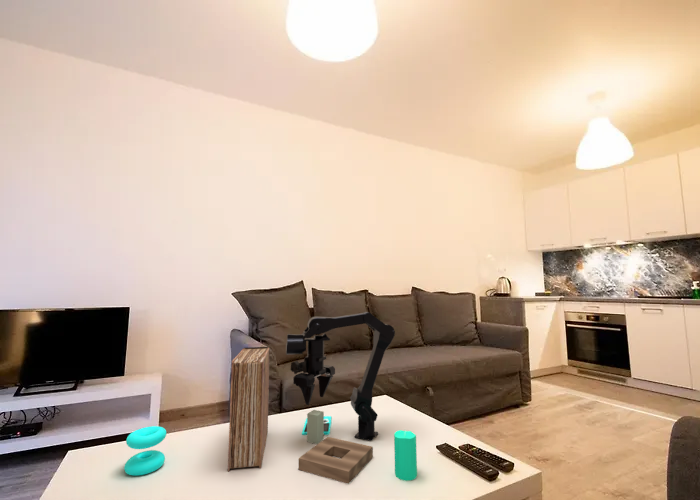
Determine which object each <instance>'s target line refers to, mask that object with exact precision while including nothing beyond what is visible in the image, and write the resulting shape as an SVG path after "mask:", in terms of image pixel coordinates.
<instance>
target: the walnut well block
mask: <svg viewBox="0 0 700 500" xmlns="http://www.w3.org/2000/svg"><path fill="white" fill-rule="evenodd" d="M373 450H374V447H373V446H372V445H366V444H362V443H357V442H353V441H349V440H348V441H347V440H344V439H341V438H335V437H331V436H326V437H325V438H324V439H323V440H322V441H321V442H319V443H318V444H315V445H314V446H313V447H312V448H310V449H309V450H308V451H306V452H305V453H303V454H302V455H301V456H300V457H298V470H299V471H303V472H305V473H310V474H313V475H316V476H320V477H324V478H325V479H326V478H327V479H330V480H334V481H337V482H340V483H345V484H348V485H349V484H350V483H351V482H352V481H353V480H354V479H355V478H356V477H357V475H358V474H359V473H360V472H361V471H362V470H363V469H364V468H365V467H366V466H367V464H368V463H369V462H370V461H371V460H372V459H373V457H374V451H373Z"/></svg>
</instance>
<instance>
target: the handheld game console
mask: <svg viewBox="0 0 700 500" xmlns="http://www.w3.org/2000/svg"><path fill="white" fill-rule="evenodd" d="M331 424H332V416H331V415H325V416H324V436H328V435H330V433H331ZM301 435H302V436H307V417H306V418H305V422H304V425H303V428H302V431H301Z"/></svg>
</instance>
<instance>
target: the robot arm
mask: <svg viewBox="0 0 700 500" xmlns="http://www.w3.org/2000/svg"><path fill="white" fill-rule="evenodd" d="M364 324H366V326H368V327H369V329H371V330H372V331H374V333H373V341H372V343H373V345H372V348H371V349H372V350H371V353H370V356H369V359H368V361H367V365H366V368H365V370H364V373H363V377H362V379H361V381H360V385H359V386H358V387H355V386H354V387H353V389H352V393H351V396H350V397H349V399H350V405H351V407H352V409H353V411H354V412H355V414H357V416H358V417H357V419H358V420H357V427H358V429H357V431H358V432H357V433H356V434H355V435H354V438H357V439H361V440H366V441H373V440H374V439H375V438H376V437H377V436H378V435H379V432H378V431H375V428H376V427H375V422H376V421H377V418H378V413H377V412H376V411H375V410H374V409H373V407H372V405H373V389H374V386H375V383H376V380H377V377H378V373H379V370H380V367H381V364H382V362H383V359H384V355H385V352H386V350H387V349H388V347H389V346H390V345H391V343H392V342H393V340H394V337H395V335H396V330H395V329H394V327H393V326H392V325H391V324H387V323H385V322H383V321H381V319H379V318H378V317H376V316H375V315H374V314H372V313H371V312H369V311H363V312H361V313H353V314H346V315H340V316H334V317H333V316H331V317H330V316H312V317H311V318H309V320H308V321H307V327H306V328H305V329H304V330H303V332H302V333H301V334H294V333H293V334H292V333H287V335H286V343H285V355H304V354H303V353H305V352H306V351H307V354H306V356H305V357H304V359H303V361H302V362H298V360H296V361H291V364H290V369H289V370H290V371H291V372H292V373H293V374H294V376H293V378H292V379H293V380H292V384H293V385H295V386H296V387H299V388H300V390H301V393H302V397H303V400H304V403H305V405H307V406H309V405H310V402H311V400H312V397H313V392H314V390H315V385H316V384H315V380H316V379H317V380H318V388H319V389H318V390H319V397H320V398H324V396H325V393H326V391H327V389H328V386H330V383H331V381H332V379H333V377H334V375H336V368H335V366H334V365H328V364H325V361H326V360H327V356H326V355H325V342H326V341H329V342H330V340H331V338H330V337H329V336H328V335H327V334H326V333H327V332H330V331H333V330H334V329H339V328H340V329H341V328H344V327H345V328H346V327H351V326H357V325H364Z"/></svg>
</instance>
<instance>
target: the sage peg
mask: <svg viewBox="0 0 700 500" xmlns="http://www.w3.org/2000/svg"><path fill="white" fill-rule="evenodd" d="M324 413H325V412H324V411H323V410H322V411H321V410H316V409H313V410H311V411H310V412H308V413H307V414H306V415H307V417H306V418H307V435H306V442H307V443H311V444H314V445H317V444H318V443H320V442H321V441H323V440H324V439H325V438H324V436H325V435H324Z"/></svg>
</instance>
